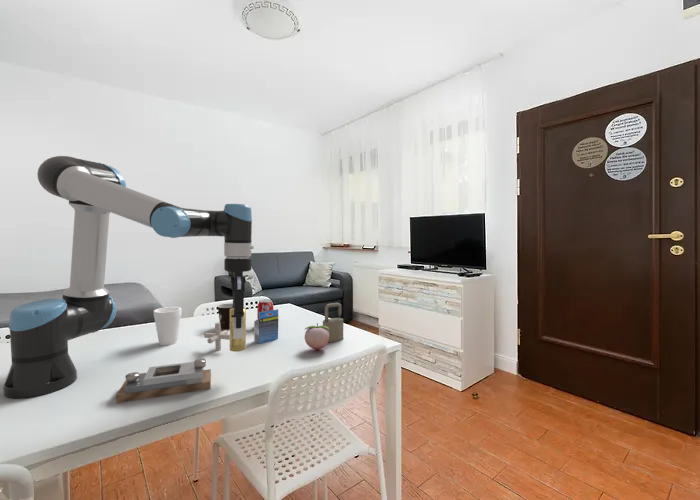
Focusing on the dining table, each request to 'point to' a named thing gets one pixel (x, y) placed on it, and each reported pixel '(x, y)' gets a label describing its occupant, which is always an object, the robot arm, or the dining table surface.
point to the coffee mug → (224, 315)
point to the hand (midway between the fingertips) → (237, 335)
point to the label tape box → (266, 327)
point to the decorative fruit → (317, 336)
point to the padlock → (334, 324)
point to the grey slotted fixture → (166, 376)
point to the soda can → (264, 306)
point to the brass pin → (237, 343)
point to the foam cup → (168, 324)
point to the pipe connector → (217, 336)
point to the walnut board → (164, 390)
